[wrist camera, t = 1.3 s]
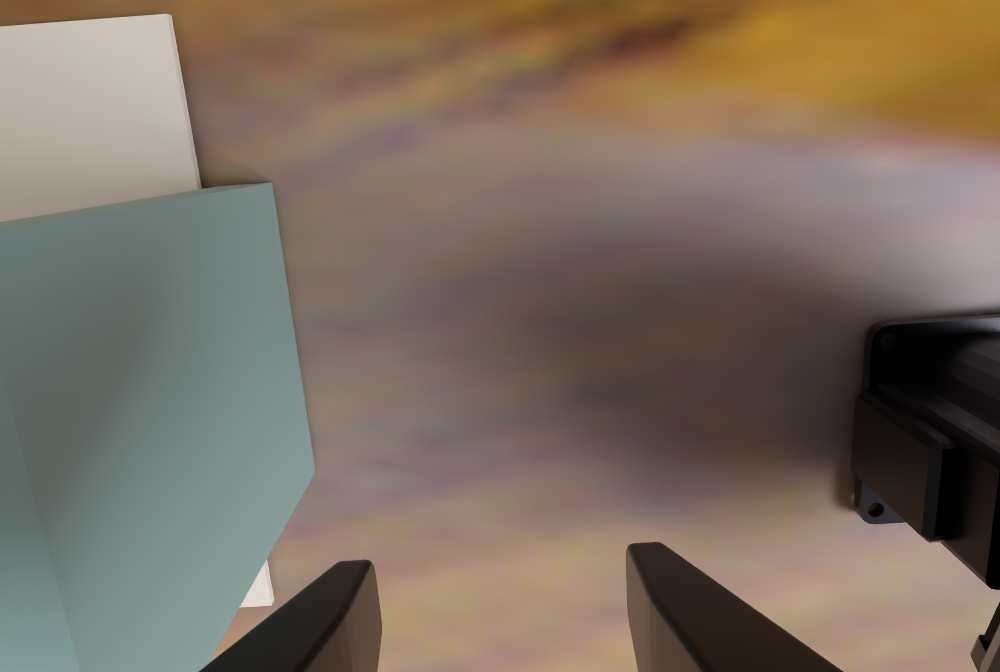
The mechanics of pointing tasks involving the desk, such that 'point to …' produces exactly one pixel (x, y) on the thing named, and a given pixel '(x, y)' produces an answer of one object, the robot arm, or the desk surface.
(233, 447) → the tile
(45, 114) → the mat
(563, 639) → the desk surface
